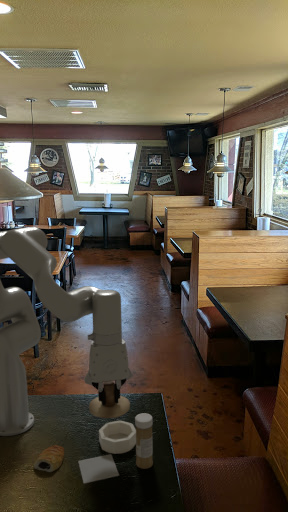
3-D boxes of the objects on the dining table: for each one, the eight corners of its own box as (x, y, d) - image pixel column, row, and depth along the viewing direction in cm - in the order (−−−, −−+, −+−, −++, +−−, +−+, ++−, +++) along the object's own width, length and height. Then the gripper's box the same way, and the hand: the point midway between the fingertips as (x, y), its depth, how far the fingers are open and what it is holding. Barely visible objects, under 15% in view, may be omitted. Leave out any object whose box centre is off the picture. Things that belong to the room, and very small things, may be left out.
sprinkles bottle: (135, 459, 111) (134, 413, 109) (152, 458, 111) (151, 411, 109) (136, 470, 106) (135, 422, 104) (154, 469, 107) (153, 421, 105)
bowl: (104, 458, 112) (103, 444, 111) (97, 437, 121) (96, 424, 121) (139, 450, 115) (139, 437, 114) (130, 430, 124) (129, 418, 123)
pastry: (48, 449, 116) (47, 437, 115) (70, 453, 115) (70, 440, 114) (32, 471, 107) (31, 458, 106) (56, 475, 106) (55, 462, 105)
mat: (83, 484, 102) (83, 483, 102) (78, 462, 110) (78, 460, 110) (119, 476, 104) (119, 475, 104) (111, 455, 113) (111, 454, 113)
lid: (92, 421, 105) (91, 396, 104) (86, 400, 116) (85, 377, 115) (134, 414, 108) (133, 390, 107) (125, 394, 119) (124, 372, 117)
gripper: (77, 345, 103) (80, 413, 106) (141, 338, 107) (142, 404, 110) (74, 335, 110) (77, 399, 113) (134, 329, 115) (135, 391, 117)
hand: (109, 401), depth 112 cm, fingers closed on lid, 3 cm apart
